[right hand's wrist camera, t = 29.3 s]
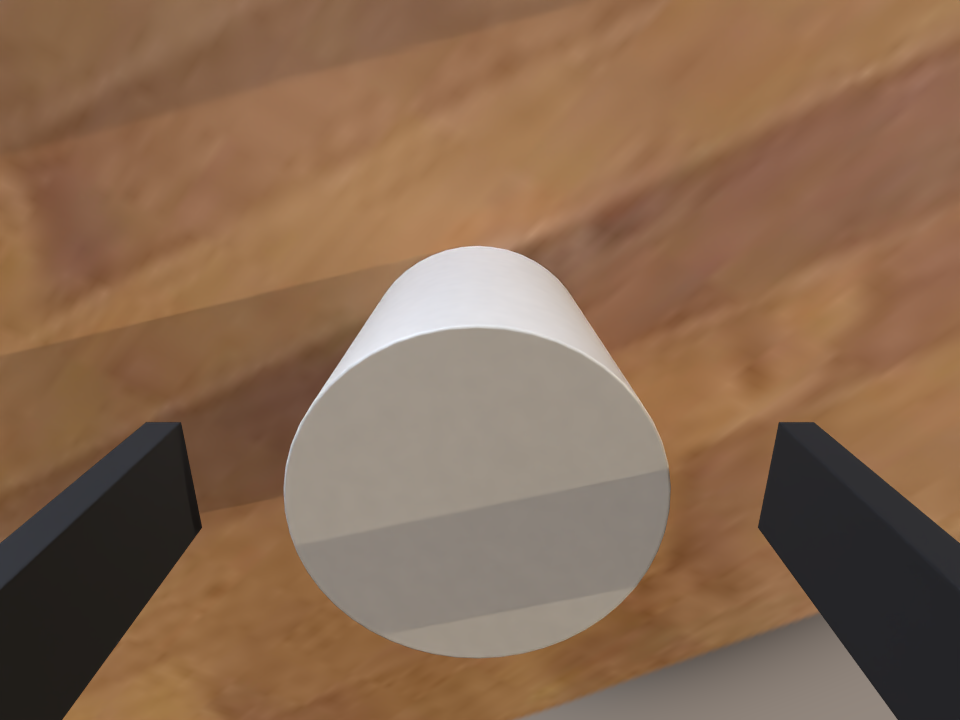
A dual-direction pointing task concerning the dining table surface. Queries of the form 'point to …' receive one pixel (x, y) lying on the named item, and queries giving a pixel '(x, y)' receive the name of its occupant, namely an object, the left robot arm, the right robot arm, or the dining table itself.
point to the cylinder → (477, 465)
